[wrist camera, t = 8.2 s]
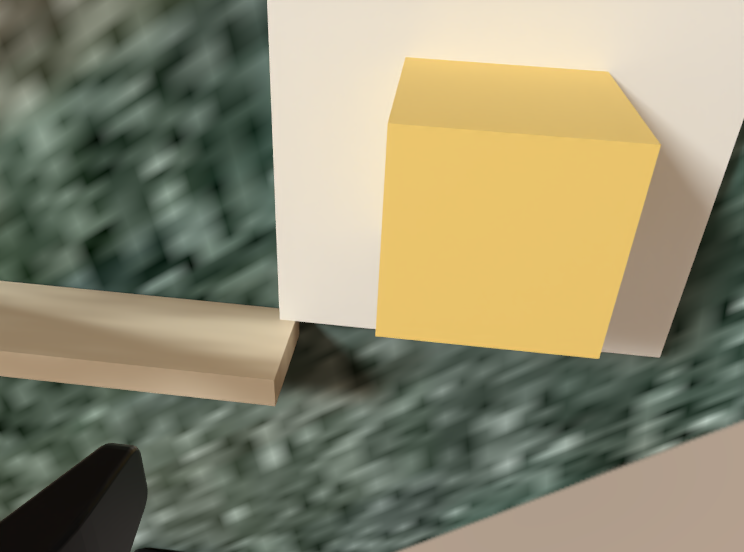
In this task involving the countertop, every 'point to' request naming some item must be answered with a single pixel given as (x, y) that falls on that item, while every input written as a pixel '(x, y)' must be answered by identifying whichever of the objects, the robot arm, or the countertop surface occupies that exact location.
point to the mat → (500, 46)
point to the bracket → (144, 343)
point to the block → (509, 205)
